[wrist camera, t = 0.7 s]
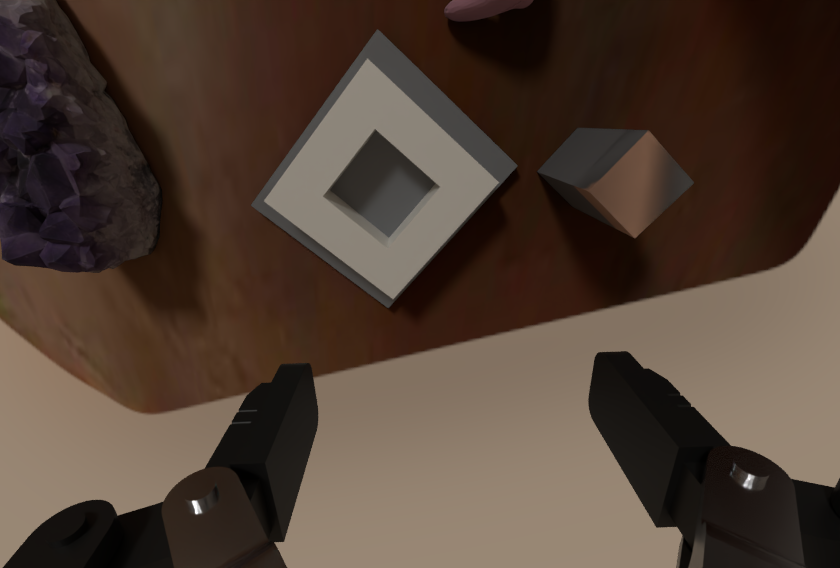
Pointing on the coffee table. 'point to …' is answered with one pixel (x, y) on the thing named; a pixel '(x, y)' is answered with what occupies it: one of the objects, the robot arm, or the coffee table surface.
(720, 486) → the robot arm
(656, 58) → the coffee table surface
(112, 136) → the geode
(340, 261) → the socket
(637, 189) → the plug
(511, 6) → the video game controller
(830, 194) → the coffee table surface
